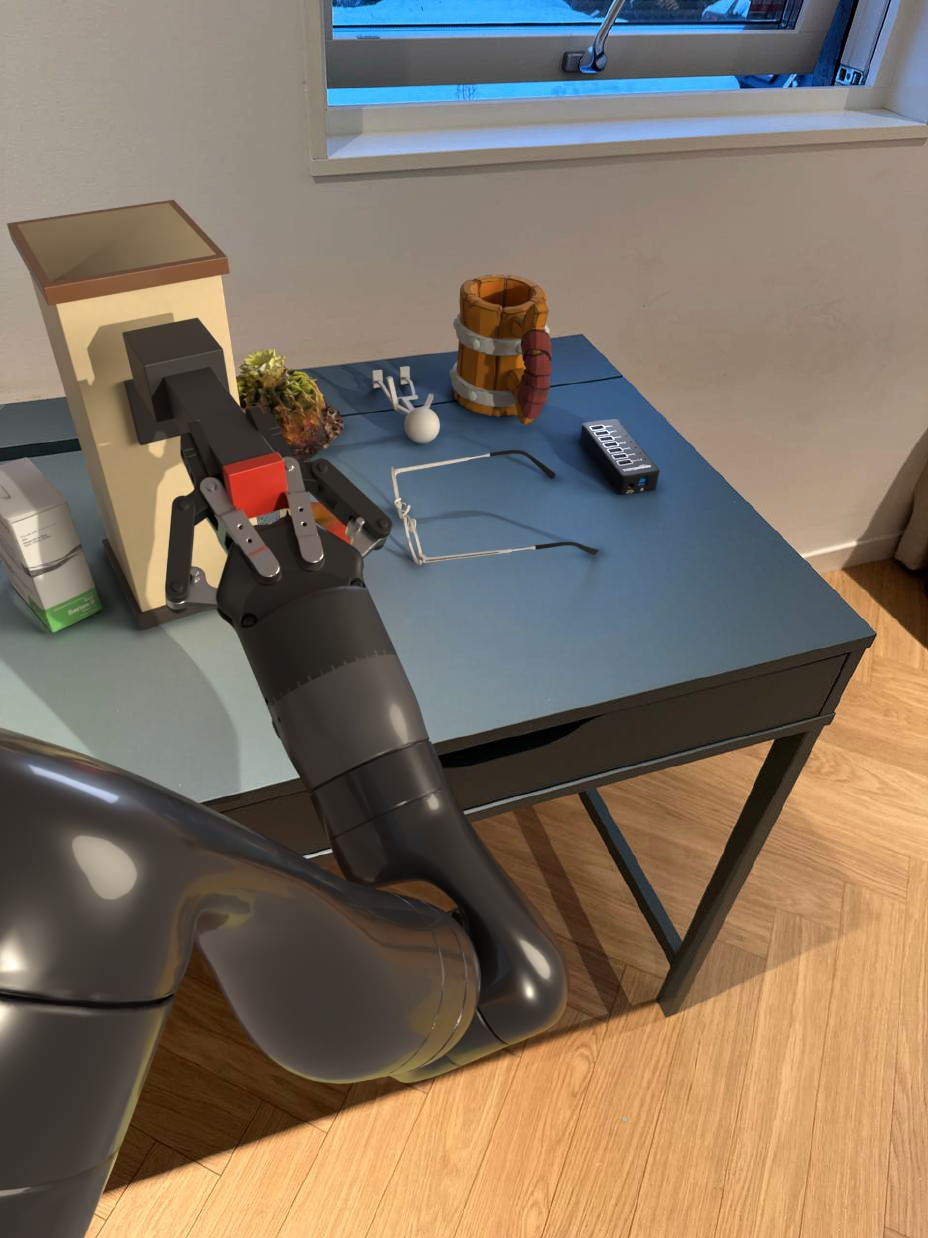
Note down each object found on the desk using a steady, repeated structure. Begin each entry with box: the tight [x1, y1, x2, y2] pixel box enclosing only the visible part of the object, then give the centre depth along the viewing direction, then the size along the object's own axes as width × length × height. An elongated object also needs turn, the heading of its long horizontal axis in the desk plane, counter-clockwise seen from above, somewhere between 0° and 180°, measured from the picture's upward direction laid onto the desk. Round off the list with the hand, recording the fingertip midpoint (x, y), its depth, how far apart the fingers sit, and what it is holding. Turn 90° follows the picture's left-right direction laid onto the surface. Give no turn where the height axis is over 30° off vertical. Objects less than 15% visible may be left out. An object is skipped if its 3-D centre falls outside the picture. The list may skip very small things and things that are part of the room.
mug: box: [448, 274, 553, 426], centre depth 102 cm, size 11×16×15 cm, turn 24°
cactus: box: [236, 348, 345, 462], centre depth 97 cm, size 17×16×10 cm
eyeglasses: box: [390, 449, 600, 566], centre depth 88 cm, size 16×19×5 cm
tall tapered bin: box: [6, 199, 258, 631], centre depth 73 cm, size 12×12×30 cm
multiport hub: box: [579, 418, 660, 496], centre depth 98 cm, size 4×11×2 cm, turn 18°
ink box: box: [0, 457, 103, 634], centre depth 76 cm, size 9×5×12 cm, turn 42°
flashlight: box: [122, 318, 287, 519], centre depth 55 cm, size 5×17×4 cm, turn 30°
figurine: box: [371, 365, 441, 444], centre depth 103 cm, size 6×6×15 cm
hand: (221, 422), depth 52 cm, fingers closed on flashlight, 3 cm apart
